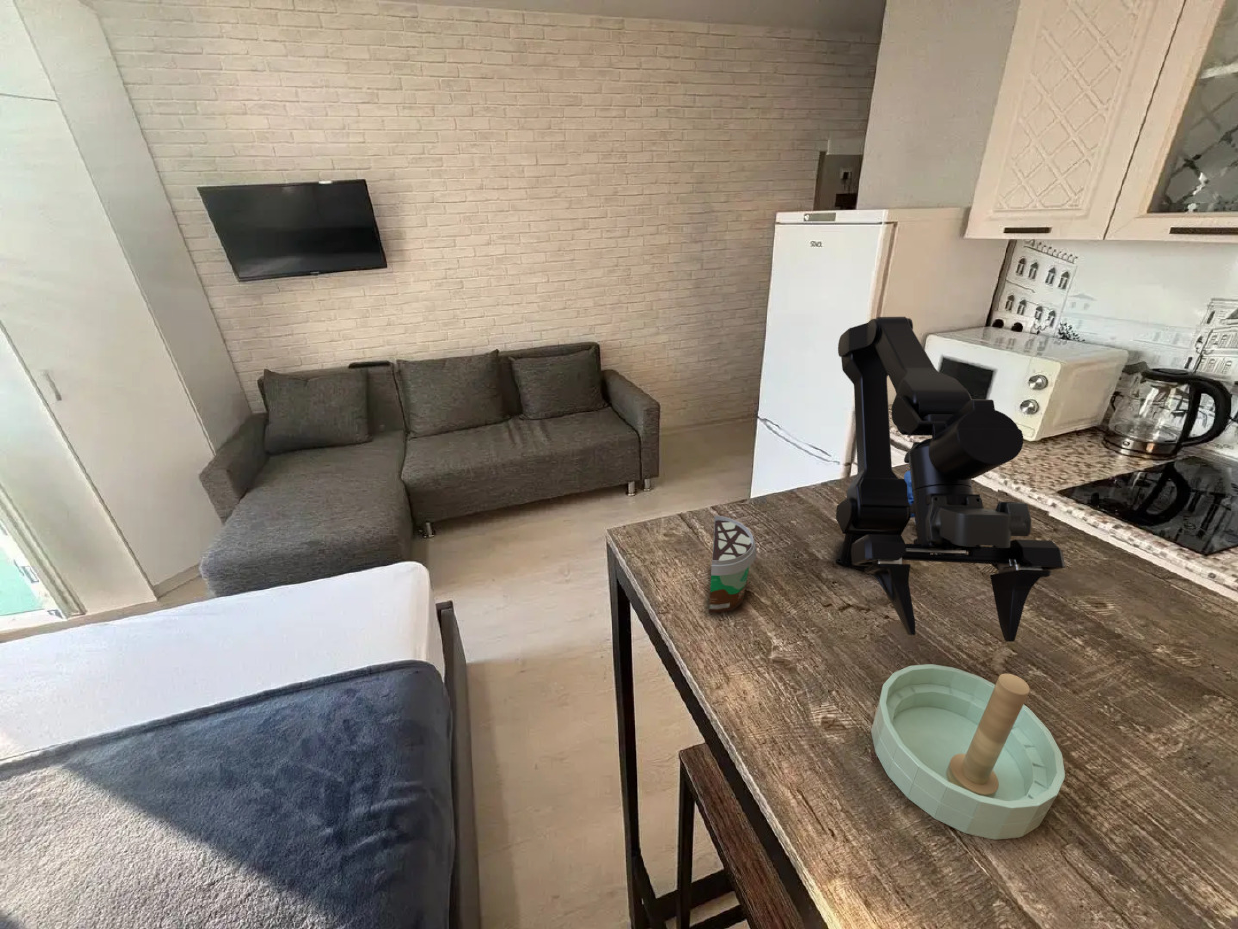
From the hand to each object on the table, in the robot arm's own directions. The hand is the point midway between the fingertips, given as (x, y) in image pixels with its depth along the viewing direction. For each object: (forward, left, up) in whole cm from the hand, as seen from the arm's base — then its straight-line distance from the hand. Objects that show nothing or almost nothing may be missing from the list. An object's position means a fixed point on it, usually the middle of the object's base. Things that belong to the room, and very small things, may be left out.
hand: (960, 638), depth 52 cm
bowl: (+5, +2, -12) cm, 13 cm away
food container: (-8, -27, -12) cm, 30 cm away
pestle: (+7, +4, -11) cm, 14 cm away
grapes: (-39, -4, -12) cm, 41 cm away
